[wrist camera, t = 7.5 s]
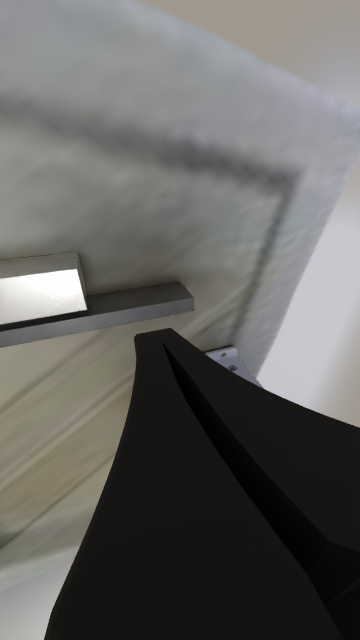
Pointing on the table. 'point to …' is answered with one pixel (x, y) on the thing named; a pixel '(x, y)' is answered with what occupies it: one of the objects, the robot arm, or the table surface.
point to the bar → (41, 287)
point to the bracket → (103, 313)
